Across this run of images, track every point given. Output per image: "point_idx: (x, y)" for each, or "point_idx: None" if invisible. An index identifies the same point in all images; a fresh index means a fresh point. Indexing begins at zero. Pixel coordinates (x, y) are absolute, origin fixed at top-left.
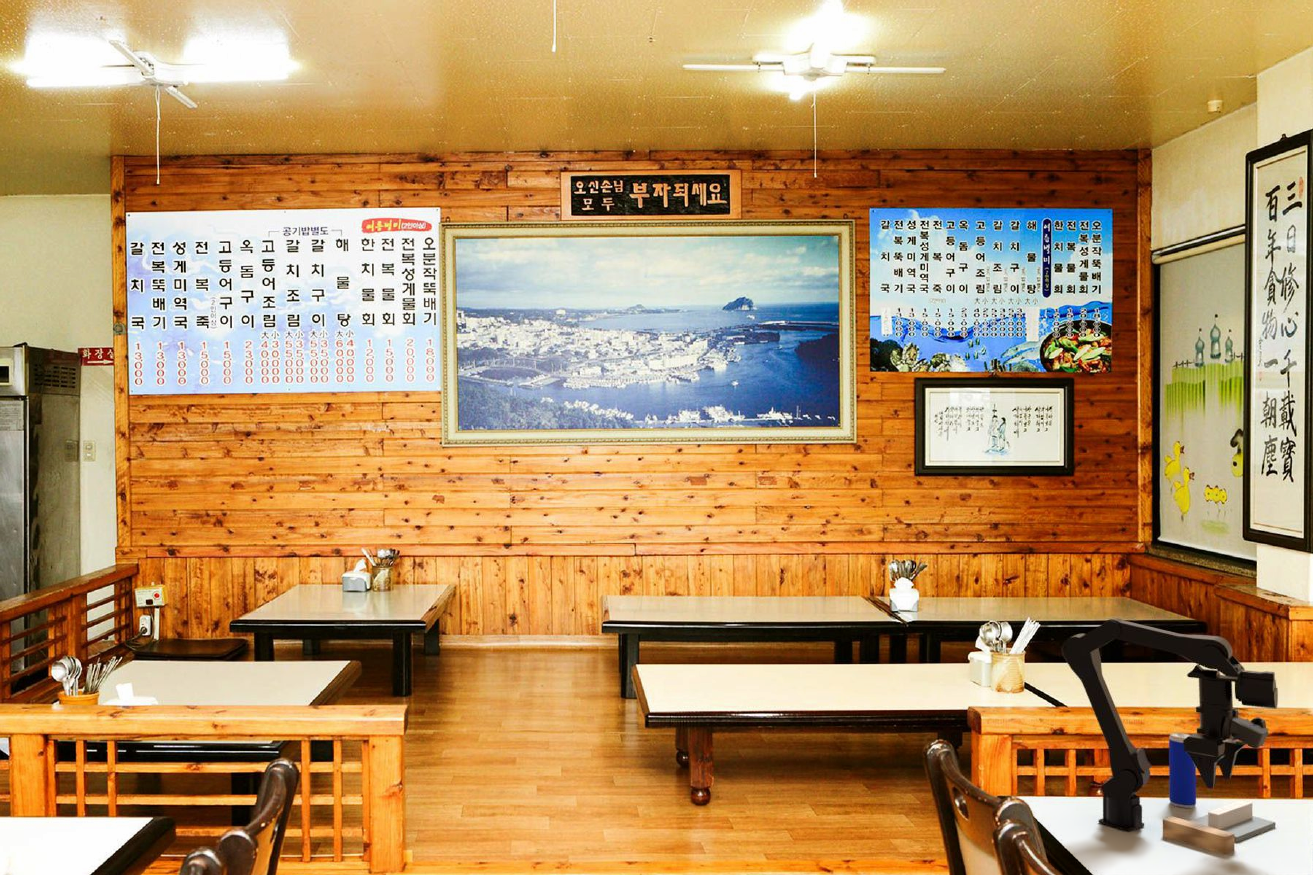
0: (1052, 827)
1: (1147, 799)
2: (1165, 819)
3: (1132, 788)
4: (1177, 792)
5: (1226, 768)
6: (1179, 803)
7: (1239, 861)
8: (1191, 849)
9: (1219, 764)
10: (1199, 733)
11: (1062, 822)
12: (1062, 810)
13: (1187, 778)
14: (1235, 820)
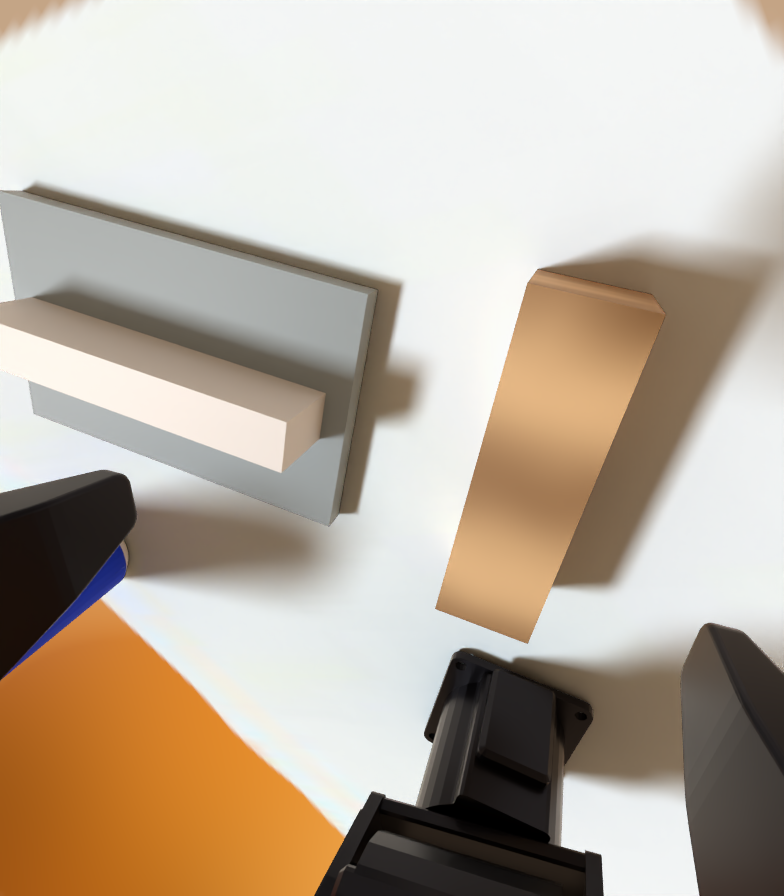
0: None
1: (148, 635)
2: (517, 631)
3: None
4: (90, 589)
5: (28, 567)
6: (121, 557)
7: (761, 190)
8: (681, 463)
9: (17, 657)
10: None
11: (633, 875)
12: None
13: None
14: (161, 346)
